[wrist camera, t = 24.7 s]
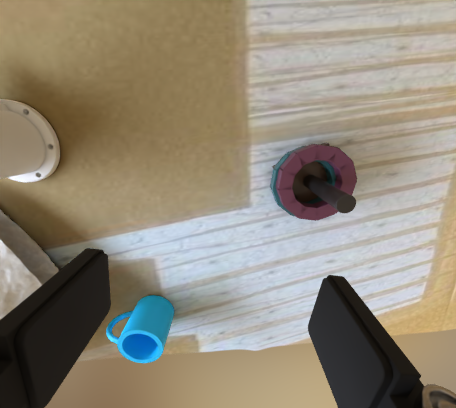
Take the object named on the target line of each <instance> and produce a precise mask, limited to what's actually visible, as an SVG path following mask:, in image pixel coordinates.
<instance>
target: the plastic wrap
mask: <svg viewBox="0 0 456 408" xmlns="http://www.w3.org/2000/svg"><path fill="white" fill-rule="evenodd" d="M9 216H10V215H9ZM9 216H7V217H6V215H4V213H3V212H2V211H1V210H0V320H1V319H2V318H3V317H4V316H6V315H7V314H8V313H9V312H10V311H12V310H13V309H14V308H15V307H16V306H18V305H19V304H20V303H21V302H22V301H24V300H25V299H26V298H27V297H28V296H30V295H31V294H32V293H33V292H35V291H36V290H37V289H38V288H39V287H41V286H42V285H43V284H44V283H45V282H47V281H48V280H49V279H50V278H51V277H53V276H54V275H55V274H56V273H57V272H59V270H58V269H59V268H57V267H55V265H54V264H55V263H52V262H51V260H50V259H49V257H48V256H47V255H48V254H45V253H44V251H42V250H41V248H40V246H39V247H38V245H37V244H36V243H37V242H35V241H34V240H33V239H32V238H30V236H28V234H26V232H25V231H24V230H23V229H21V228H20V227H19V225H17V224H16V223H14V222H12V221H11V220H10V219H8V218H9Z"/></svg>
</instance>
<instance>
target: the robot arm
mask: <svg viewBox="0 0 456 408" xmlns="http://www.w3.org/2000/svg"><path fill="white" fill-rule="evenodd" d="M59 159H60V146H59V141H58V139H57V136H56V133H55V132H54V130H53V128H52V126H51V125H50V124H49V122H48V121H47V120H46V119H45V118H44V117H43V116H42V115H41V114H40V113H39V112H38V111H36V110H35V109H33V108H32V107H30V106H28V105H26V104H24V103H21V102H18V101H14V100H7V99H0V179H3V178H9V179H12V180H15V181H19V182H27V183H28V182H36V181H40V180H43V179H45V178H47V177H49V176H50V175H51V174H52V173H53V172H54V171H55V170H56V168H57V166H58V163H59ZM110 306H111V300H110V285H109V269H108V256H107V254H104V251H103V250H99V249H90V248H87V249H85V250H84V251H83V252H82V253H80V254H79V255H78V256H77V257H76V258H74V259H73V260H72V261H71V262H69V263H68V264H67V265H66V266H65V267H63V268H62V269H61V270H60V271H59V272H57V273H56V274H55V275H54V276H53V277H51V278H50V279H49V280H48V281H47V282H45V283H44V284H43V285H42V286H41V287H39V288H38V289H37V290H36V291H35V292H33V293H32V294H31V295H30V296H28V297H27V298H26V299H25V300H24V301H22V302H21V303H20V304H19V305H18V306H16V307H15V308H14V309H13V310H12V311H10V312H9V313H8V314H7V315H6V316H4V317H3V318H2V319H1V320H0V408H44V407H45V406H46V405H47V404H48V403H49V401H50V400H51V398H52V397H53V395H54V394H55V392H56V391H57V389H58V388H59V386H60V385H61V383H62V382H63V380H64V379H65V377H66V376H67V374H68V373H69V371H70V370H71V368H72V367H73V365H74V364H75V362H76V361H77V359H78V358H79V356H80V355H81V353H82V352H83V350H84V349H85V347H86V346H87V344H88V343H89V341H90V340H91V338H92V336H93V335H94V333H95V332H96V330H97V329H98V327H99V326H100V324H101V323H102V321H103V320H104V318H105V317H106V315H107V314H108V312H109V310H110ZM308 331H309V335H310V337H311V340H312V342H313V344H314V347H315V350H316V352H317V355H318V357H319V360H320V362H321V365H322V368H323V370H324V372H325V375H326V378H327V380H328V383H329V385H330V388H331V390H332V393H333V396H334V398H335V401H336V403H337V405H338V408H456V394H455V393H453V392H452V391H450V390H448V389H446V388H444V387H441V386H438V385H433V384H430V385H429V384H428V385H426V386H424V385H423V384H422V383H421V381H420V380H419V378H420V377H421V375H420V374H419V372H418V371H417V370H416V369H415V367H414V366H413V365H412V363H411V362H410V361H409V360H408V358H407V357H406V356H405V354H404V353H403V352H402V351H401V349H400V348H399V347H398V346H397V344H396V343H395V342H394V340H393V339H392V338H391V337H390V335H389V334H388V333H387V331H386V330H385V329H384V328H383V326H382V325H381V324H380V322H379V321H378V320H377V319H376V317H375V316H374V315H373V314H372V312H371V311H370V310H369V308H368V307H367V306H366V305H365V303H364V302H363V301H362V299H361V298H360V297H359V296H358V294H357V293H356V292H355V290H354V289H353V288H352V287H351V285H350V284H349V283H348V282H347V280H346V279H345V278H344V277H342V276H333V275H329V276H328V277H327V278H324V279H323V281H322V284H321V287H320V290H319V293H318V297H317V300H316V303H315V306H314V309H313V312H312V315H311V318H310V321H309V324H308Z"/></svg>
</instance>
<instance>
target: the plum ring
mask: <svg viewBox="0 0 456 408" xmlns="http://www.w3.org/2000/svg"><path fill="white" fill-rule="evenodd" d="M316 160H322V161H327V162H328V163H329V164H330V165H331V166H332V167H333V168H334V172H335V176H336V182H335V185H334V186H335V187H336V188H338V189H340V190H342V191H344V192H346V193H348V194H349V195H351V196H352V194H353V191H354V188H355V185H356V182H357V177H356V172H355V168H354V163H353V161H352V160H351V159H350V158H349V157H348V156H347V155H346V154H345V153H344V152H343V151H341V150H340V149H339V148H337V147H331V146H324V145H317V144H311V145H308V146H306V147H303V148H301V149H298V150H296V151H294V153H293V152H292V153H291V155H290V156H289V157H288V158H287V159H286V160H285V162H284V163H283V164H282V165H281V166H280V168H279V172H278V176H277V181H276V190H277V193H278V196H279V199H280V201H281V203H282V205H283V206H284V207H285V208H286V209H287V210H288V211H290V212H291V213H292V214H293V215H295V216H296V217H297V218H300V219H308V220H320V219H323V218H326V217H328V216H331V215H334V214H335V213H337V212H338V211H337V210H336V209H335V208H333V207H332V206H331V205H329V204H328V203H327V202H325V201H324V200H322V201H320V202H317V203H314V204H308V203H301V202H300V201H298V200H297V199H296V198H295V195H294V192H293V189H292V186H293V182H294V178H295V175H296V174H297V173H298V171H299V170H300V169H301V168H302V167H303V166H304V165H305V164H308V163H310V162H313V161H316Z"/></svg>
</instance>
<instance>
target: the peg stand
mask: <svg viewBox="0 0 456 408" xmlns="http://www.w3.org/2000/svg"><path fill="white" fill-rule="evenodd" d="M321 145H324V146H329V143H324V144H321ZM275 166H276V165H274V166H273V169H275V168H274V167H275ZM292 189H293V192H294V195H295V198H296V199H297V200H298V201H300V202H308V201H310V200H313V199H316V198H317V197H318V196H319V197H320V198H321V199H323V200H324V201H325V202H327V203H328V204H329V205H331V206H332V207H333V208H335V209H336V210H337V211H339V212H341V213H348V212H350V211H352V210H353V209H354V207H355V205H356V200H355V198H354V197H353V196H351V195H349V194H348V193H346V192H344V191H342V190H340V189H338V188H336V187H335V186H333V185H331V184H329V183H327V175H326V171H325V168H324V167H323V166H322V165H321V164H320V163H318V162H314V161H313V162H310V163H308V164H305V165H304V166H303V167H302V168H301V169H300V170H299V171H298V173H297V174H296V175H295V178H294V182H293V186H292Z"/></svg>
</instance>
